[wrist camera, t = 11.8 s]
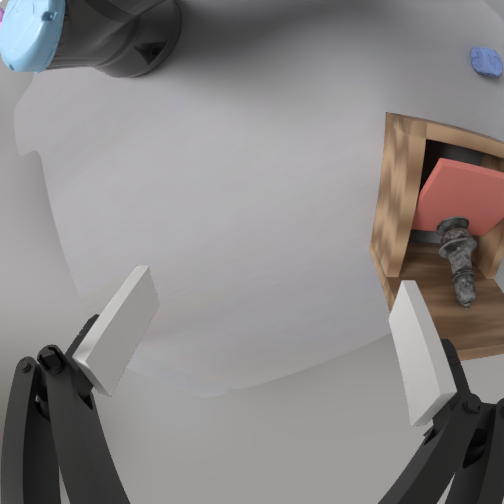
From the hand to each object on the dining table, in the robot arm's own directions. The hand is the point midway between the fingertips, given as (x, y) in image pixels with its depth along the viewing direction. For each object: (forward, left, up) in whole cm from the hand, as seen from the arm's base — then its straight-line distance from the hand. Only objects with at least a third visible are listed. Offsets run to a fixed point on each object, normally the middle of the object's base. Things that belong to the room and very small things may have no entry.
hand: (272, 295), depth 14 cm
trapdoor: (+1, +24, -19) cm, 30 cm away
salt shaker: (+5, +23, -22) cm, 32 cm away
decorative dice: (-20, +30, -29) cm, 46 cm away
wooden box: (+3, +24, -29) cm, 37 cm away
